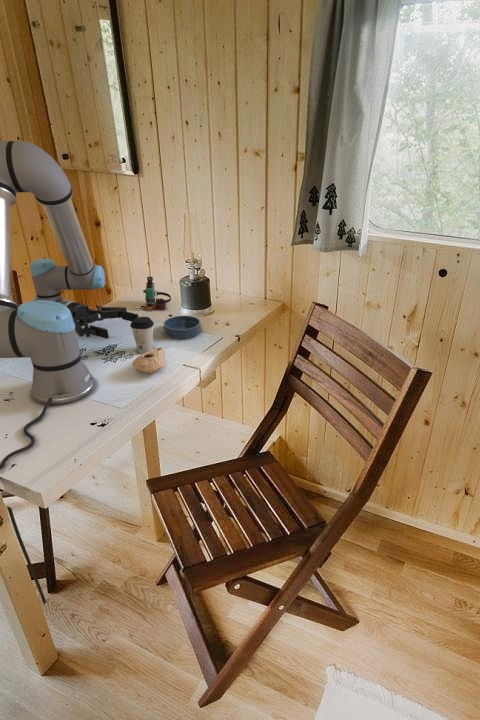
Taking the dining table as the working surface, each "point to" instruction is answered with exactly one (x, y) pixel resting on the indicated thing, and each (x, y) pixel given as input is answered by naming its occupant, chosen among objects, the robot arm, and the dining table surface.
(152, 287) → the green and brown piece
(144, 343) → the coffee cup
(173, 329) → the bowl
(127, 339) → the dining table surface
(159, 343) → the dining table surface
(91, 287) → the robot arm
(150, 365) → the pottery oil lamp
